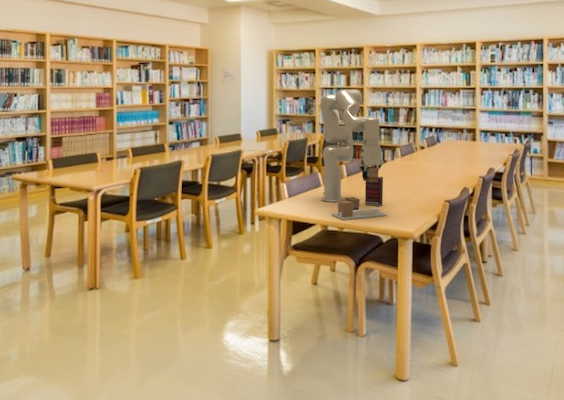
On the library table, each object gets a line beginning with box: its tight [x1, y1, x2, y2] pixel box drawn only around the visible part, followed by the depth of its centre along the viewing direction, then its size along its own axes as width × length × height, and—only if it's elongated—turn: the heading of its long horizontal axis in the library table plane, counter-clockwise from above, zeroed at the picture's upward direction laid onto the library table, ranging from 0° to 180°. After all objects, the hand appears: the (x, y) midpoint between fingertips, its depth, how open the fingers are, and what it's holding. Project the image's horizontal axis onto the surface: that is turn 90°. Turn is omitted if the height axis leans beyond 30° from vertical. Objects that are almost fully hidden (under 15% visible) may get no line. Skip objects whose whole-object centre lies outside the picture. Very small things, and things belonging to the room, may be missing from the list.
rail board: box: [331, 200, 388, 221], centre depth 295 cm, size 12×25×8 cm, turn 113°
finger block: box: [362, 165, 379, 182], centre depth 294 cm, size 6×6×7 cm
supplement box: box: [364, 176, 384, 207], centre depth 320 cm, size 9×5×16 cm, turn 59°
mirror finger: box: [344, 196, 361, 210], centre depth 306 cm, size 6×6×7 cm
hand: (370, 178), depth 294 cm, fingers closed on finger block, 5 cm apart
